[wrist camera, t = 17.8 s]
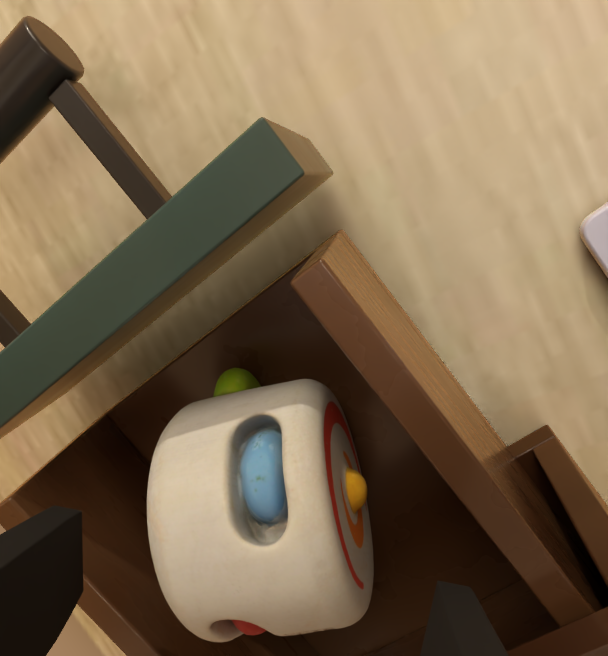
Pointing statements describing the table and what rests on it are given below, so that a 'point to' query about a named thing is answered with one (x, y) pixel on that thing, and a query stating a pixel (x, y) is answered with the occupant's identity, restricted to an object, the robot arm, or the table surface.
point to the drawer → (268, 368)
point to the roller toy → (260, 512)
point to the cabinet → (584, 523)
